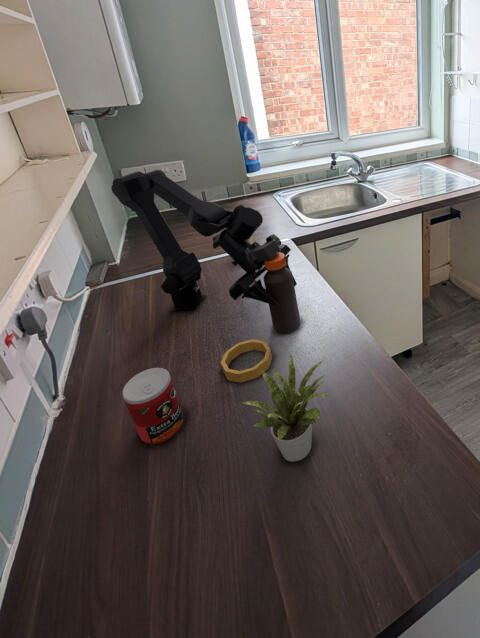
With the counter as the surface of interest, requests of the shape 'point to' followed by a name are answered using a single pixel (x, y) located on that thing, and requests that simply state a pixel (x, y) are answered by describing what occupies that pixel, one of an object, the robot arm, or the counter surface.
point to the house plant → (290, 413)
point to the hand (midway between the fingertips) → (286, 294)
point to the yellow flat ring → (251, 372)
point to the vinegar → (281, 295)
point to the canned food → (153, 405)
